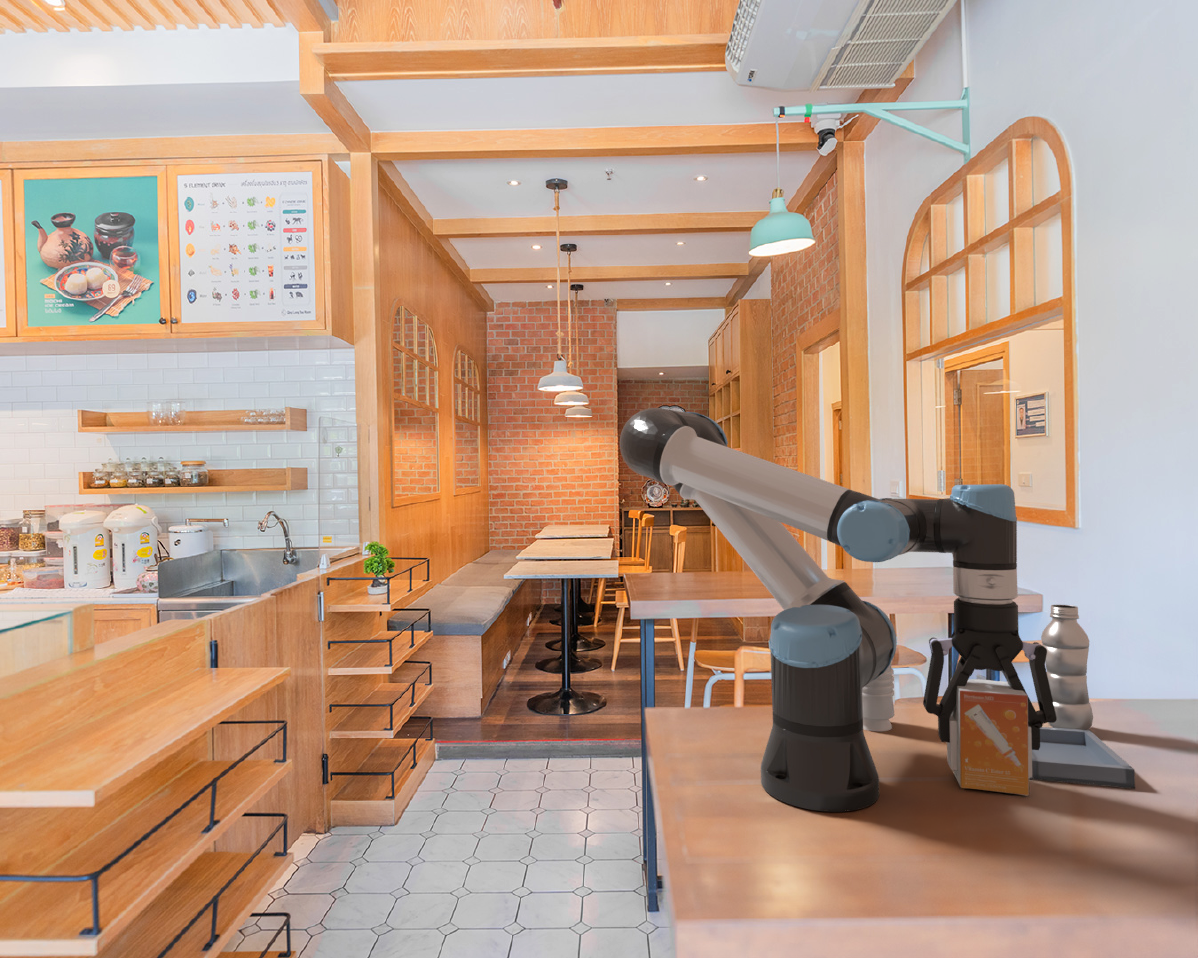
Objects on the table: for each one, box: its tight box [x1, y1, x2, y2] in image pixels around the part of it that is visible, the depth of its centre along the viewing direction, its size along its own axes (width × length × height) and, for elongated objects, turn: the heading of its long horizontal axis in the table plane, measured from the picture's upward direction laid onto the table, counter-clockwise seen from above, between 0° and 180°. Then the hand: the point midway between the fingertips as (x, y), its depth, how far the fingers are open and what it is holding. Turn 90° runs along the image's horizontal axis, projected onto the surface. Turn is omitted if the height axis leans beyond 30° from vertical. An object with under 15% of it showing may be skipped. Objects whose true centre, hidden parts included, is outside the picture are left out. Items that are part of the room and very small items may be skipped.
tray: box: [1029, 726, 1136, 789], centre depth 98 cm, size 12×15×2 cm
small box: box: [949, 677, 1030, 797], centre depth 91 cm, size 8×6×13 cm
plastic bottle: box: [1040, 604, 1094, 730], centre depth 111 cm, size 6×7×20 cm
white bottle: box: [862, 662, 895, 732], centre depth 115 cm, size 7×7×15 cm
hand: (988, 769), depth 91 cm, fingers closed on small box, 8 cm apart
